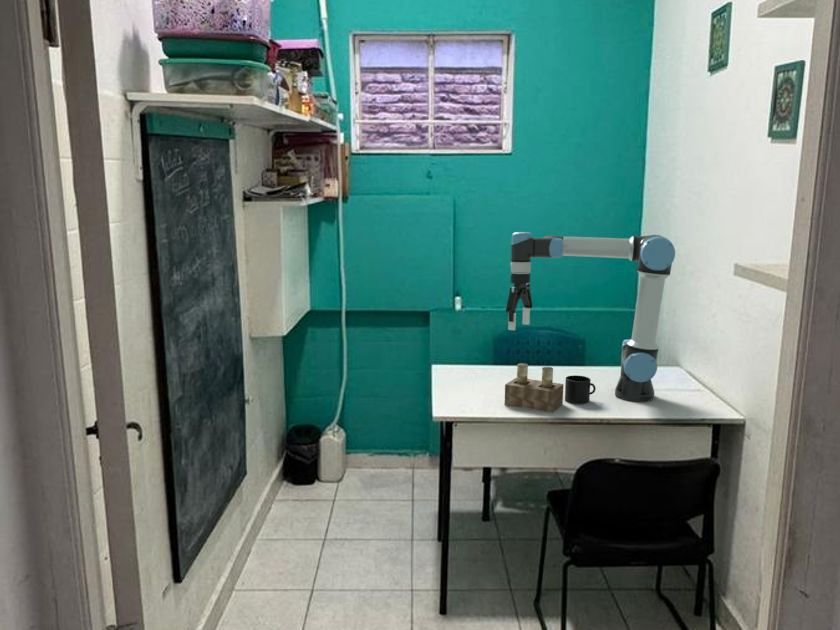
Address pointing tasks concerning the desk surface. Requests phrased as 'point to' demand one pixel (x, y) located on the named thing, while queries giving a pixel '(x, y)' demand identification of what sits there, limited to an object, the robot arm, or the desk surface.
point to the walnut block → (534, 395)
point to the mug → (578, 389)
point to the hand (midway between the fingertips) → (519, 327)
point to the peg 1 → (522, 374)
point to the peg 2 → (547, 377)
